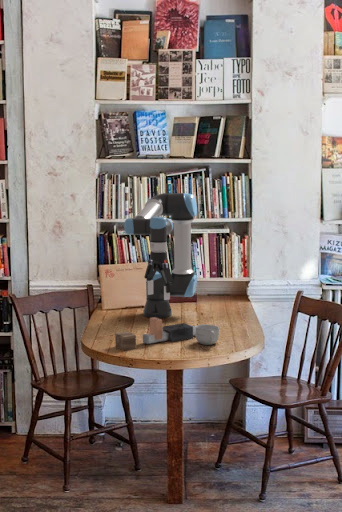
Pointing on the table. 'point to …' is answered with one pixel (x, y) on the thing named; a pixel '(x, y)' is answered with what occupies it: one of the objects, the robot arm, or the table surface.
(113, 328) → the table surface
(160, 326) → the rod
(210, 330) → the teacup
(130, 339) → the socket
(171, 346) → the table surface
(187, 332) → the sleeve
